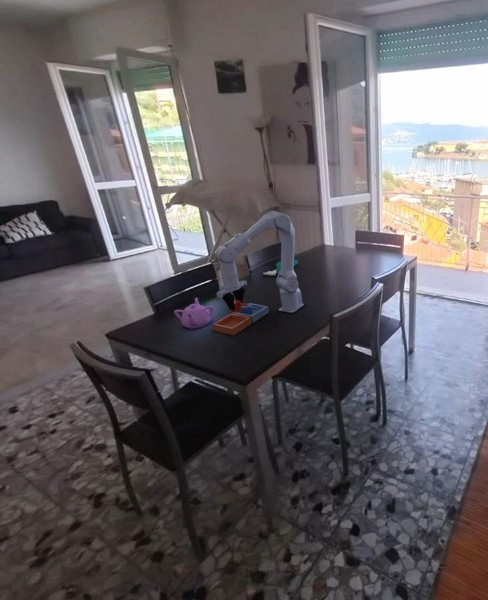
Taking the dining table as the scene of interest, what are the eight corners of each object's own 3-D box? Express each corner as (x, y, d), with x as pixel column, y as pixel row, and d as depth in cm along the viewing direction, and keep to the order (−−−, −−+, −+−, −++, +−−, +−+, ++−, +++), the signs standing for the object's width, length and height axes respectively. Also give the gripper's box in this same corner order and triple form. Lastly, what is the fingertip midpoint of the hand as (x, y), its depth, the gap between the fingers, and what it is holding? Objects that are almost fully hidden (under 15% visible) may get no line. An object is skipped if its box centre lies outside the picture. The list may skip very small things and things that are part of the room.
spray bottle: (300, 264, 223) (277, 277, 202) (285, 262, 226) (261, 276, 205) (299, 259, 221) (276, 273, 200) (284, 258, 225) (260, 271, 204)
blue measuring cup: (241, 315, 157) (239, 306, 155) (247, 311, 160) (245, 303, 159) (256, 317, 154) (254, 309, 153) (262, 314, 158) (260, 305, 156)
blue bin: (250, 308, 164) (249, 303, 163) (269, 312, 160) (268, 306, 159) (233, 318, 155) (232, 312, 154) (253, 322, 151) (252, 316, 150)
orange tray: (232, 319, 154) (231, 313, 153) (251, 323, 151) (250, 317, 149) (213, 330, 145) (211, 324, 144) (233, 335, 142) (232, 328, 140)
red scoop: (229, 311, 145) (227, 302, 143) (236, 307, 148) (234, 299, 147) (245, 314, 142) (243, 305, 141) (252, 310, 146) (250, 301, 144)
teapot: (193, 333, 143) (187, 313, 140) (174, 324, 150) (169, 305, 147) (219, 321, 153) (215, 303, 149) (200, 314, 159) (196, 296, 156)
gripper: (235, 269, 147) (240, 299, 153) (207, 281, 135) (215, 313, 141) (248, 271, 145) (254, 301, 151) (222, 283, 133) (229, 315, 138)
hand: (236, 307), depth 145 cm, fingers closed on red scoop, 4 cm apart
